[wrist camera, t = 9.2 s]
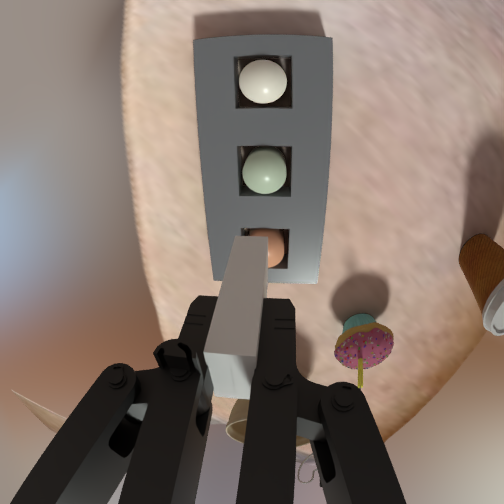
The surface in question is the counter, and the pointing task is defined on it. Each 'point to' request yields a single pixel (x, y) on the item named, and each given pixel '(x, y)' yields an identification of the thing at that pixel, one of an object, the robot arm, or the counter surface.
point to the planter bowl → (239, 421)
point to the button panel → (265, 134)
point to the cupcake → (363, 344)
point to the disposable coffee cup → (486, 279)
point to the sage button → (265, 169)
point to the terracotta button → (271, 243)
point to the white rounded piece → (262, 81)
